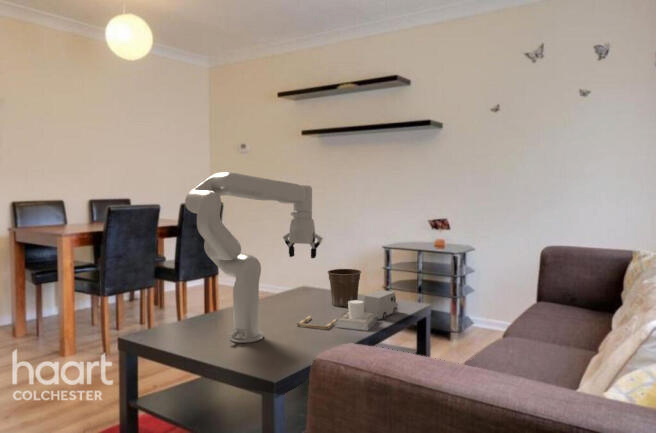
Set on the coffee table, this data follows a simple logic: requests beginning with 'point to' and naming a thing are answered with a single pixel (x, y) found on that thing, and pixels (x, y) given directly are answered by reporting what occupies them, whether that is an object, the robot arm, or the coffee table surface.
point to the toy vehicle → (380, 303)
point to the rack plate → (356, 321)
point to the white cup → (356, 309)
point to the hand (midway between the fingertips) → (302, 257)
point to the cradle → (301, 324)
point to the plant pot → (344, 286)
